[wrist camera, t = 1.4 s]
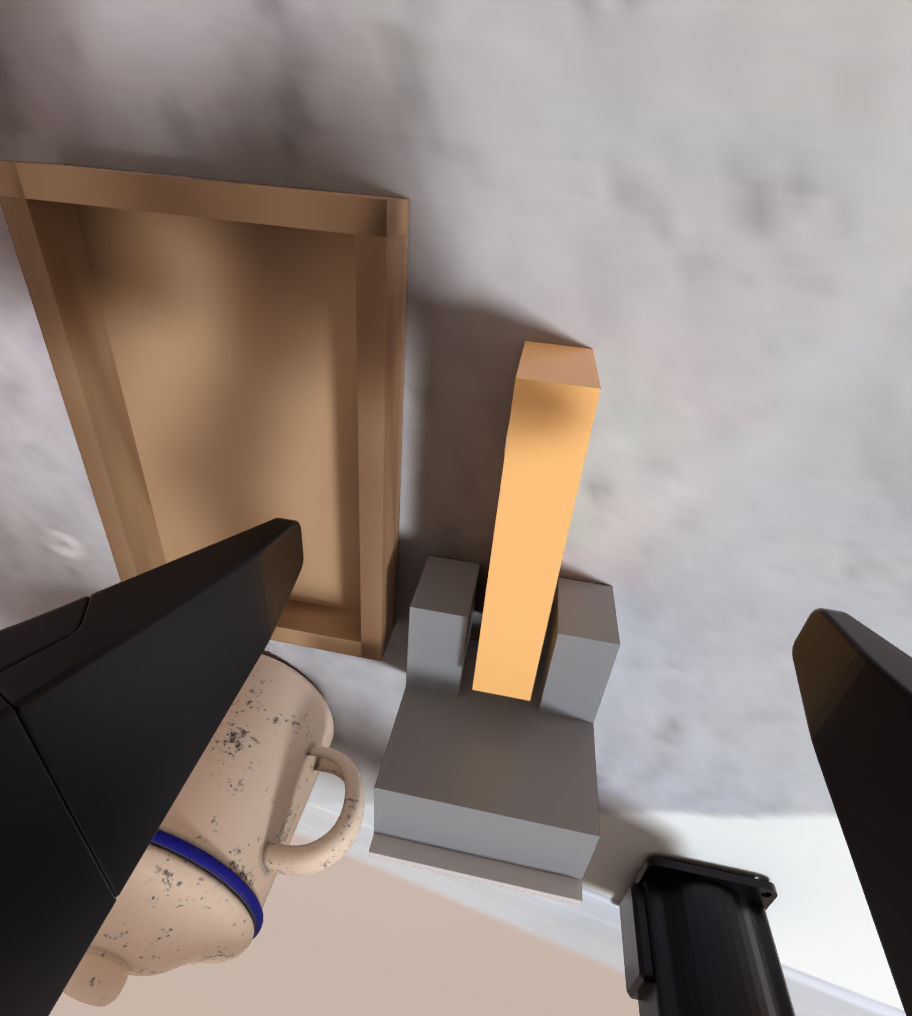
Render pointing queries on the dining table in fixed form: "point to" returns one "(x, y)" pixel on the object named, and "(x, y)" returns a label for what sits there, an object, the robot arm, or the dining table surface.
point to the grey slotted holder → (496, 745)
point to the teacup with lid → (227, 838)
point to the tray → (230, 371)
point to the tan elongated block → (534, 510)
